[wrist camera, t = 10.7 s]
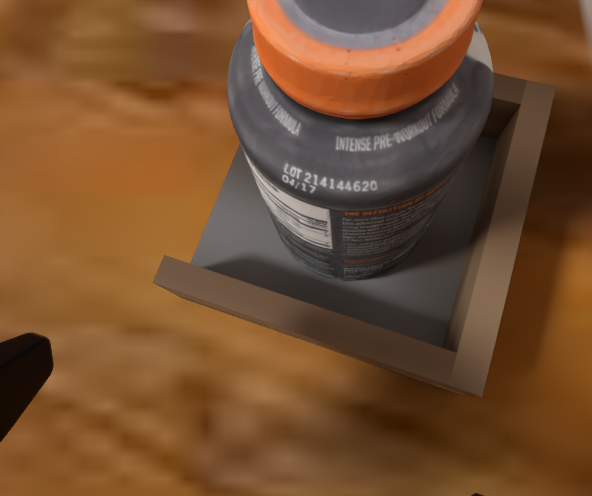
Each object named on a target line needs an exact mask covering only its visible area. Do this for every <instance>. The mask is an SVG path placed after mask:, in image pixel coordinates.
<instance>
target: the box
mask: <svg viewBox="0 0 592 496" xmlns="http://www.w3.org/2000/svg"><path fill="white" fill-rule="evenodd" d="M493 76H494V84H493V95H492V102H491V109H490V112H489V115H488V117H487V120H486V123H485V125H484V127H483V129H482V132H481V134H480V136H479V137H478V139H477V141H476V143H475V144H474V146H473V148H472V150H471V152H470V153H469V155H468V157H467V159H466V160H465V162H464V164H463V165H462V167H461V169H460V171H459V172H458V174H457V176H456V178H455V180H454V181H453V183H452V185H451V187H450V188H449V190H448V192H447V194H446V196H445V197H444V199H443V201H442V203H441V205H440V206H439V208H438V210H437V212H436V213H435V215H434V217H433V219H432V220H431V222H430V224H429V226H428V228H427V229H426V231H425V233H424V235H423V237H422V239H421V241H420V242H419V244H418V245H417V246H416V248H415V249H414V250H413V251H412V252H411V254H410V255H409V256H408V257H407V258H406V259H405V260H404V261H403V262H402V263H401V264H399V265H398V266H396V267H395V268H393V269H392V270H390V271H389V272H386V273H384V274H382V275H379V276H376V277H374V278H371V279H366V280H356V281H341V280H336V279H331V278H327V277H324V276H321V275H319V274H317V273H314V272H312V271H310V270H309V269H307V268H306V267H304V266H303V265H301V264H300V263H299V262H298V261H297V260H296V259H294V258H293V256H292V255H291V254H290V253H289V252H288V250H287V249H286V247H285V246H284V244H283V242H282V241H281V239H280V237H279V235H278V233H277V230H276V228H275V226H274V223H273V221H272V218H271V217H270V213H269V211H268V209H267V207H266V204H265V202H264V199H263V197H262V195H261V192H260V190H259V187H258V185H257V183H256V180H255V178H254V176H253V174H252V171H251V169H250V167H249V164H248V161H247V159H246V156H245V153H244V150H243V148H242V146H241V143H240V145H239V147H238V150H237V152H236V154H235V157H234V159H233V162H232V164H231V166H230V169H229V171H228V174H227V176H226V179H225V181H224V183H223V186H222V188H221V191H220V193H219V195H218V198H217V200H216V203H215V205H214V208H213V210H212V212H211V215H210V217H209V220H208V222H207V224H206V227H205V229H204V232H203V234H202V237H201V239H200V241H199V244H198V246H197V249H196V251H195V253H194V256H193V258H192V261H191V263H190V264H189V263H186V262H183V261H180V260H177V259H174V258H171V257H168V256H165V255H164V257H163V259H162V262H161V264H160V266H159V269H158V271H157V273H156V276H155V278H154V280H153V283H154V284H156V285H158V286H160V287H162V288H164V289H166V290H168V291H170V292H172V293H173V294H175V295H177V296H179V297H181V298H184V299H187V300H190V301H192V302H195V303H198V304H201V305H204V306H207V307H210V308H212V309H215V310H218V311H221V312H224V313H227V314H230V315H233V316H235V317H238V318H241V319H244V320H247V321H250V322H253V323H255V324H258V325H261V326H264V327H267V328H270V329H273V330H275V331H278V332H281V333H284V334H287V335H290V336H293V337H296V338H298V339H301V340H304V341H307V342H310V343H313V344H316V345H318V346H321V347H324V348H327V349H330V350H333V351H336V352H339V353H341V354H344V355H347V356H350V357H353V358H356V359H359V360H361V361H364V362H367V363H370V364H373V365H376V366H379V367H382V368H384V369H387V370H390V371H393V372H396V373H399V374H402V375H404V376H407V377H410V378H413V379H416V380H419V381H422V382H425V383H427V384H430V385H433V386H436V387H439V388H442V389H445V390H447V391H450V392H453V393H456V394H462V395H471V396H479V397H483V393H484V388H485V384H486V380H487V376H488V372H489V367H490V363H491V359H492V355H493V351H494V346H495V342H496V338H497V334H498V330H499V325H500V321H501V317H502V313H503V309H504V304H505V300H506V296H507V292H508V288H509V283H510V279H511V275H512V271H513V267H514V262H515V258H516V254H517V250H518V246H519V241H520V237H521V233H522V229H523V224H524V220H525V216H526V212H527V208H528V203H529V199H530V195H531V191H532V187H533V182H534V178H535V174H536V170H537V166H538V161H539V157H540V153H541V149H542V145H543V140H544V136H545V132H546V128H547V124H548V119H549V115H550V111H551V107H552V103H553V98H554V94H555V90H556V87H553V86H549V85H544V84H540V83H536V82H531V81H527V80H523V79H518V78H514V77H510V76H505V75H501V74H497V73H493Z"/></svg>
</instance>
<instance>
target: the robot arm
mask: <svg viewBox="0 0 592 496" xmlns="http://www.w3.org/2000/svg"><path fill="white" fill-rule="evenodd" d="M53 365H54V364H53V357H52V350H51V344H50V340H49V339H48V338H47V337H44V336H42V335H39V334H36V333H26V334H23V335H20V336H17V337H15V338H12V339H9V340H6V341H4V342H1V343H0V442H1V441H2V440H3V439H4V437H5V436H6V435H7V433H8V432H9V431H10V430H11V428H12V427H13V426H14V424H15V423H16V422H17V420H18V419H19V417H20V416H21V415H22V413H23V412H24V411H25V409H26V408H27V406H28V405H29V404H30V402H31V401H32V400H33V398H34V397H35V395H36V394H37V393H38V391H39V390H40V389H41V387H42V386H43V384H44V383H45V382H46V380H47V379H48V378H49V376H50V374H51V372H52V370H53ZM472 496H483V495H481V494H478V493H474V494H472Z"/></svg>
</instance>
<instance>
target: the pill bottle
mask: <svg viewBox="0 0 592 496" xmlns="http://www.w3.org/2000/svg"><path fill="white" fill-rule="evenodd" d="M482 2H483V0H247V4H248V8H249V12H250V16H251V18H250V19H249V21H248V22H247V24H246V25H245V27H244V29H243V30H242V32H241V34H240V36H239V38H238V40H237V42H236V45H235V47H234V50H233V53H232V57H231V60H230V64H229V70H228V77H227V98H228V106H229V111H230V116H231V120H232V123H233V126H234V129H235V131H236V133H237V135H238V138H239V140H240V143H241V146H242V148H243V150H244V153H245V156H246V159H247V161H248V164H249V167H250V169H251V171H252V174H253V176H254V178H255V180H256V183H257V185H258V187H259V190H260V192H261V195H262V197H263V199H264V202H265V204H266V207H267V209H268V211H269V213H270V217H271V218H272V221H273V223H274V226H275V228H276V230H277V233H278V235H279V237H280V239H281V241H282V242H283V244H284V246H285V247H286V249H287V250H288V252H289V253H290V254H291V255H292V256H293V258H294V259H296V260H297V261H298V262H299V263H300V264H301V265H303V266H304V267H306V268H307V269H309V270H310V271H312V272H314V273H317V274H319V275H321V276H324V277H327V278H331V279H336V280H341V281H356V280H366V279H371V278H374V277H376V276H379V275H382V274H384V273H386V272H389V271H390V270H392V269H393V268H395V267H396V266H398V265H399V264H401V263H402V262H403V261H404V260H405V259H406V258H407V257H408V256H409V255H410V254H411V252H412V251H413V250H414V249H415V248H416V246H417V245H418V244H419V242H420V241H421V239H422V237H423V235H424V233H425V231H426V229H427V228H428V226H429V224H430V222H431V220H432V219H433V217H434V215H435V213H436V212H437V210H438V208H439V206H440V205H441V203H442V201H443V199H444V197H445V196H446V194H447V192H448V190H449V188H450V187H451V185H452V183H453V181H454V180H455V178H456V176H457V174H458V172H459V171H460V169H461V167H462V165H463V164H464V162H465V160H466V159H467V157H468V155H469V153H470V152H471V150H472V148H473V146H474V144H475V143H476V141H477V139H478V137H479V136H480V134H481V132H482V129H483V127H484V125H485V123H486V120H487V117H488V115H489V112H490V109H491V102H492V95H493V84H494V76H493V69H492V61H491V56H490V53H489V49H488V46H487V43H486V40H485V38H484V35H483V33H482V30H481V29H480V27H479V25H478V24H477V22H476V20H477V17H478V14H479V11H480V8H481V5H482Z"/></svg>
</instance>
